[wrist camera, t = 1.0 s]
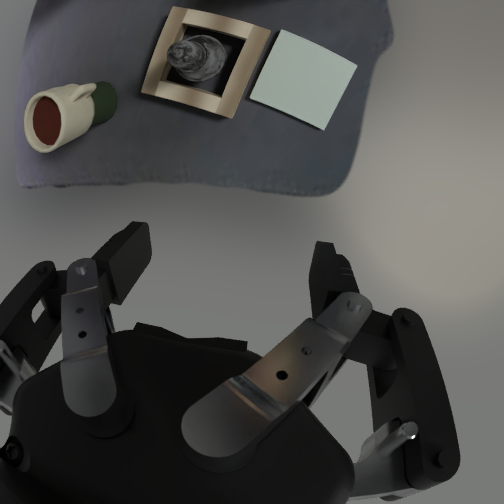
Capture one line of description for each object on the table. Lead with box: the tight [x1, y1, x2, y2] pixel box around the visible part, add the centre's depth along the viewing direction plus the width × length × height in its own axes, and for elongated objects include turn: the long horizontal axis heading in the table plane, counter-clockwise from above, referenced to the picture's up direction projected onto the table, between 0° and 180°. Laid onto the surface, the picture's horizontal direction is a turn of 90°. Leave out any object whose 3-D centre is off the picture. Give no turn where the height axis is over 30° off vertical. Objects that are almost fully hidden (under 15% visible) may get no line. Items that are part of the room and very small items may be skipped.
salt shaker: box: [167, 35, 227, 82], centre depth 22 cm, size 6×6×12 cm
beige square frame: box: [141, 6, 271, 118], centre depth 25 cm, size 12×12×2 cm
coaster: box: [250, 30, 357, 130], centre depth 27 cm, size 10×10×1 cm
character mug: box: [23, 81, 117, 153], centre depth 24 cm, size 11×7×13 cm, turn 116°
